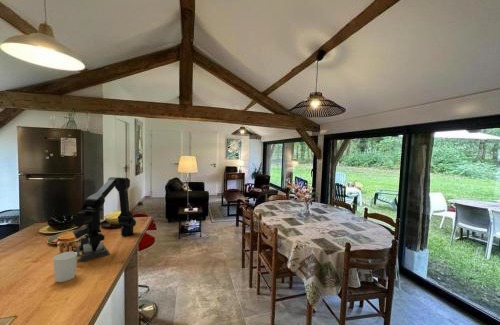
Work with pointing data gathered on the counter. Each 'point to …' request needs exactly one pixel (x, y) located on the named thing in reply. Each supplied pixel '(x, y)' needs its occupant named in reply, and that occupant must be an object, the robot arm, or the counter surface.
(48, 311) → the counter surface
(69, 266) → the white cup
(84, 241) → the rack
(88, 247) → the panel
